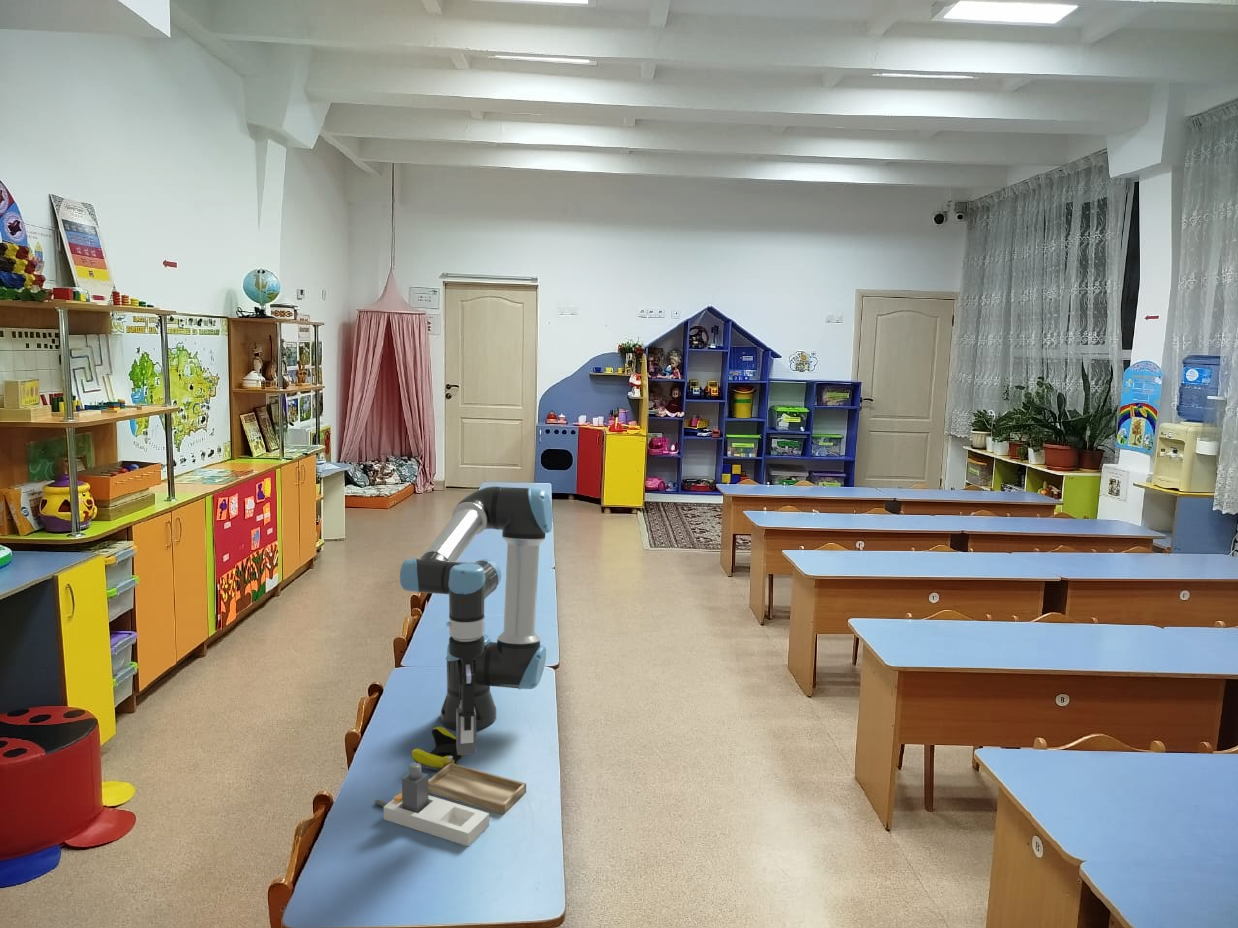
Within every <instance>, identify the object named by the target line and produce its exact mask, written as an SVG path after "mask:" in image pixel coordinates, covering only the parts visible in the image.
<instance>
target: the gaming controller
mask: <svg viewBox="0 0 1238 928" xmlns="http://www.w3.org/2000/svg"><path fill="white" fill-rule="evenodd" d="M431 737H432V739H433V741H434V746H435V747H434V748H433V749H432V750H431V751H430V752H427V751H424V750H422V749H420V748H415V749H412V752H411V759H412V761H413V762H414V763H419V764H421V768H422V767H423V768H426V769H430V770H435V771H437V772H439V771H440V770H442V769H443V768H444V767H445V766H447V765H448V764H449V763H454V764H457V763H458V762H459V761H460V759H461V758H462V757H464V756H465V755H457V748H456V736H455V735H454V734H453V733H452V732H450V731H449V730H447V729H446V728H445V727H442V726H439V725H438V726H436V727H434V728H432V730H431Z"/></svg>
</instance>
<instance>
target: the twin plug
mask: <svg viewBox="0 0 1238 928" xmlns="http://www.w3.org/2000/svg"><path fill="white" fill-rule="evenodd" d="M428 780H429V774H428V773H424V772H422V766H421V764H419V763H416V762H414V763H413V762H412V763H411V764H409V765H408V773H407V774H406V775H404V777H402V778H401V792H402V809H405V810H409V811H412V812H415V813H419V812H420V811H422V810H423V809H424V808H425V807H426V806H427V805H429V799H428V795H429V792H428Z"/></svg>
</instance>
